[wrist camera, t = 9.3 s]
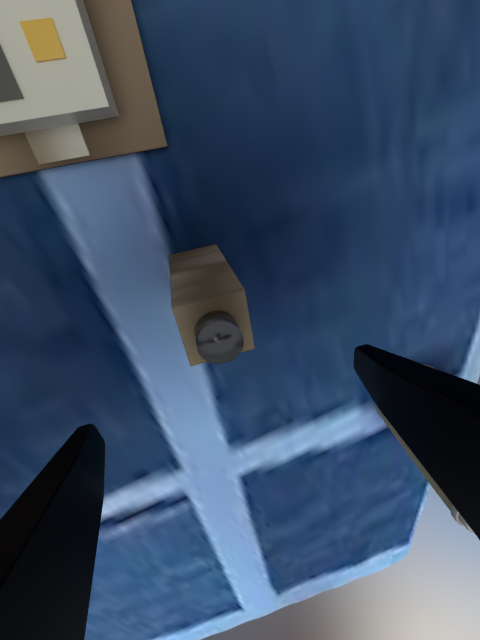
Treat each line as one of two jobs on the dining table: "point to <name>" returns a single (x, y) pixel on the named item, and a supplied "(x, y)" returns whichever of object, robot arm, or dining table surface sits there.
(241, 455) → the dining table surface
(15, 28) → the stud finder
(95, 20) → the board
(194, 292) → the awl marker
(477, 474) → the robot arm
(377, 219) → the dining table surface
